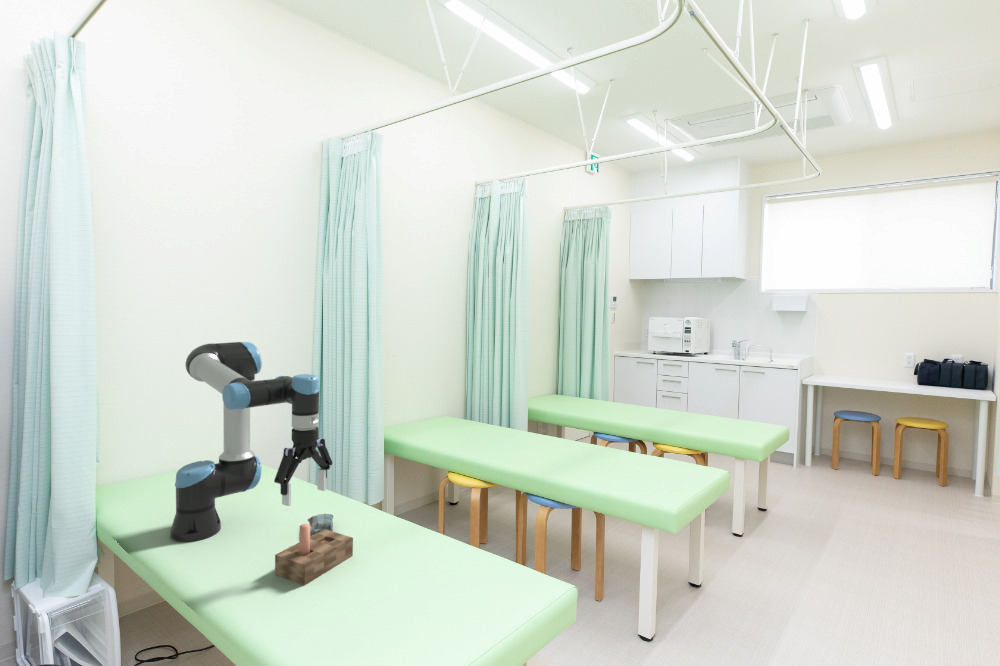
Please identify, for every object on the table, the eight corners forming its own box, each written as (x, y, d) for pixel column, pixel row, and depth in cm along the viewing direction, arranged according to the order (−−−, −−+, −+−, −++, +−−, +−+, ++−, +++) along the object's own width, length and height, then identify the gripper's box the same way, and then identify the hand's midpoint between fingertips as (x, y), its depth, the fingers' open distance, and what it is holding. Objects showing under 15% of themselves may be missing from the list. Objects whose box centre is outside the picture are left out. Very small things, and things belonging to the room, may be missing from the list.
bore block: (275, 574, 161) (275, 554, 160) (324, 546, 179) (324, 529, 178) (304, 585, 156) (304, 565, 155) (352, 555, 174) (352, 537, 173)
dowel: (296, 565, 162) (297, 526, 162) (304, 561, 165) (305, 523, 164) (304, 568, 161) (304, 528, 160) (311, 563, 164) (312, 525, 163)
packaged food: (306, 539, 184) (306, 525, 184) (307, 524, 195) (307, 511, 195) (333, 536, 187) (333, 523, 186) (332, 522, 198) (333, 509, 198)
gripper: (280, 439, 147) (279, 514, 149) (344, 420, 170) (343, 486, 171) (260, 434, 151) (260, 508, 152) (326, 417, 173) (325, 482, 175)
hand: (304, 497), depth 162 cm, fingers open, 13 cm apart
